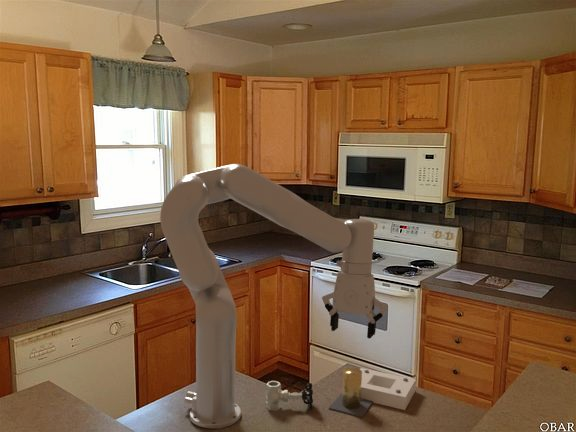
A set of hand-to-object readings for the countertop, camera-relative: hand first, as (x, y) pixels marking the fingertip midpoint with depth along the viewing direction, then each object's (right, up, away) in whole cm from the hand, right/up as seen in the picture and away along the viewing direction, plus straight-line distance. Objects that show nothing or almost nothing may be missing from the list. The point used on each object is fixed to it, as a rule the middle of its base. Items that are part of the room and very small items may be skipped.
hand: (352, 333), depth 133 cm
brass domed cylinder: (0, -19, +2) cm, 19 cm away
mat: (0, -20, +3) cm, 20 cm away
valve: (-16, -20, +1) cm, 26 cm away
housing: (+9, -19, +10) cm, 23 cm away
